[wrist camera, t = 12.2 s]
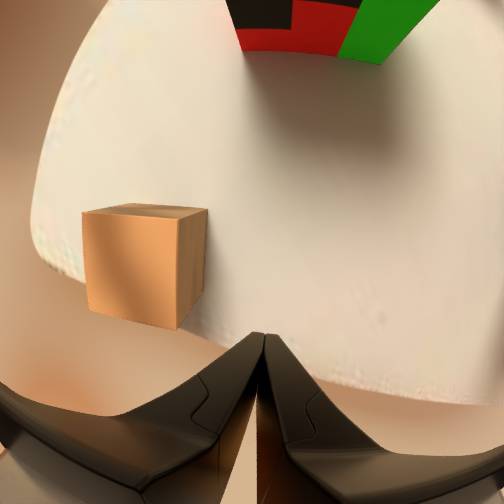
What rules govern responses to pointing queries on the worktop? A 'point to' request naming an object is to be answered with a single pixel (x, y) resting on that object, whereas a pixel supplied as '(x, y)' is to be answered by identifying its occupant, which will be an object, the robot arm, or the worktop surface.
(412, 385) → the worktop surface
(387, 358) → the worktop surface
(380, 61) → the puzzle toy
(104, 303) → the walnut cube
